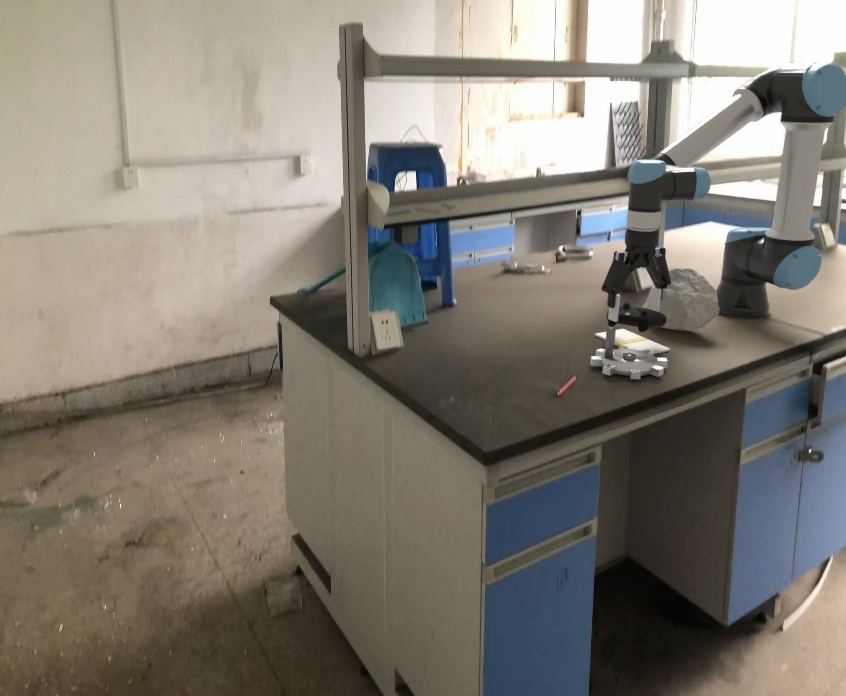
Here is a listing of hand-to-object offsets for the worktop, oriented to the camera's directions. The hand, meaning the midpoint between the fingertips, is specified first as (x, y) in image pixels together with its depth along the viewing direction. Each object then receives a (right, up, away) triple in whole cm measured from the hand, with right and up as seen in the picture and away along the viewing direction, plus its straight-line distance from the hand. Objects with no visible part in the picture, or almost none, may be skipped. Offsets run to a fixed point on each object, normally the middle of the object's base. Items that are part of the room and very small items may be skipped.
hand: (633, 316), depth 191 cm
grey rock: (+14, -3, +13) cm, 20 cm away
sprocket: (-5, -12, -14) cm, 19 cm away
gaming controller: (0, -2, +1) cm, 2 cm away
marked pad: (0, -6, +2) cm, 7 cm away
